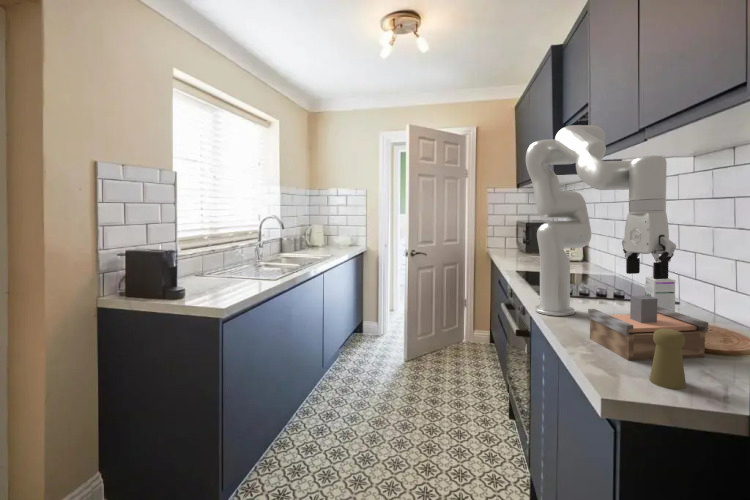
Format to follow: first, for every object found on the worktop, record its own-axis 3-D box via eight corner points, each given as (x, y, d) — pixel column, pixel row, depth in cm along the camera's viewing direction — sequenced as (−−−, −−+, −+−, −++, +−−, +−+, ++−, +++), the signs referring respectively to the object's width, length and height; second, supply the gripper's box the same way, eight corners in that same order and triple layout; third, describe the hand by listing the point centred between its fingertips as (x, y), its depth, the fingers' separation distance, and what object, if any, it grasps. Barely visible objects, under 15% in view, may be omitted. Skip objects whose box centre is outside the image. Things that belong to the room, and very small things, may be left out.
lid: (595, 319, 104) (596, 293, 104) (659, 316, 104) (659, 291, 104) (624, 332, 92) (625, 304, 92) (696, 330, 92) (697, 301, 92)
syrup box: (675, 328, 113) (677, 279, 111) (652, 328, 114) (654, 279, 112) (664, 323, 118) (666, 276, 117) (643, 322, 119) (644, 276, 118)
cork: (674, 391, 75) (676, 336, 74) (642, 380, 80) (644, 328, 79) (693, 385, 77) (695, 331, 76) (660, 374, 83) (662, 324, 82)
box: (587, 338, 107) (588, 308, 106) (656, 335, 107) (657, 306, 106) (625, 360, 91) (626, 325, 90) (706, 357, 91) (708, 322, 90)
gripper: (610, 209, 104) (609, 272, 105) (657, 206, 87) (656, 282, 88) (637, 208, 104) (637, 271, 105) (690, 205, 87) (689, 280, 88)
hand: (646, 276), depth 97 cm, fingers open, 9 cm apart
